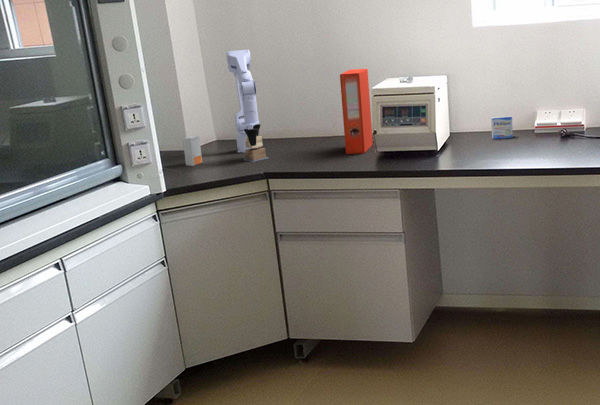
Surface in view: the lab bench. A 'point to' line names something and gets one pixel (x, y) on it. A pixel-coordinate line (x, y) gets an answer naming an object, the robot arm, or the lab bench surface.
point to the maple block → (258, 142)
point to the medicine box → (502, 127)
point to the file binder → (356, 111)
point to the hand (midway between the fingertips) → (254, 144)
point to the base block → (255, 153)
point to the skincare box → (192, 150)
